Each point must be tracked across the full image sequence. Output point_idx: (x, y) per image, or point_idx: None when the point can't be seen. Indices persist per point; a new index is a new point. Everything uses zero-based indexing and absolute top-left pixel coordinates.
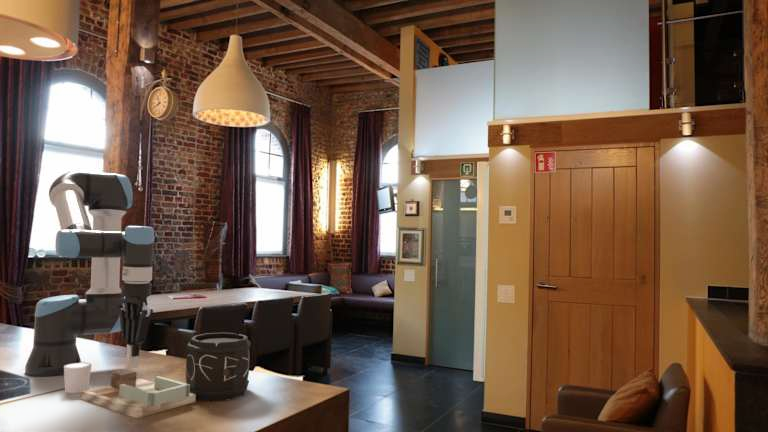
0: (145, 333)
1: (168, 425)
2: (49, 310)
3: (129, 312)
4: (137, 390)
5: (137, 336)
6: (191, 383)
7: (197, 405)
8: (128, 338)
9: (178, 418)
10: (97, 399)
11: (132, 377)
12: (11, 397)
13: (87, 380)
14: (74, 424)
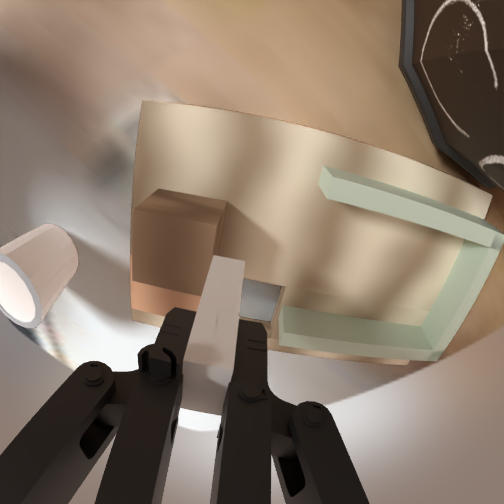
0: (350, 486)
1: (473, 343)
2: None
3: None
4: (380, 356)
5: (303, 488)
6: (484, 173)
7: (493, 214)
8: (173, 440)
9: (481, 309)
10: None
11: (217, 234)
12: (37, 340)
13: (58, 257)
14: None
